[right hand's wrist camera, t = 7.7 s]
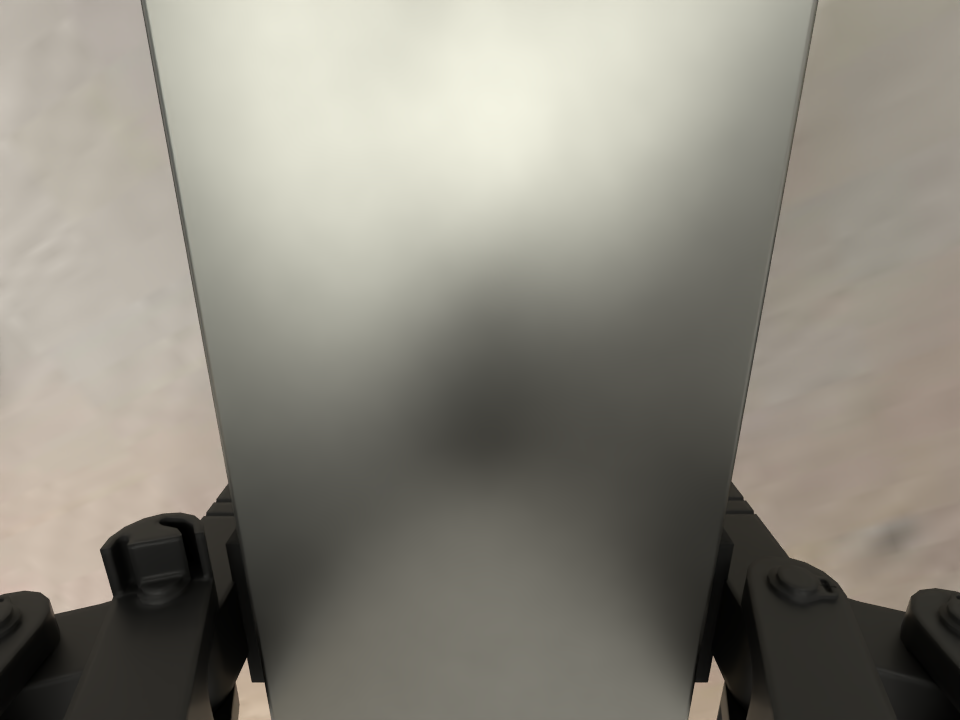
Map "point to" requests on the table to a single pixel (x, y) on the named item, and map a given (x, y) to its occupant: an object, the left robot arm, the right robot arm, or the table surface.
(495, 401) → the bar
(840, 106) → the table surface
